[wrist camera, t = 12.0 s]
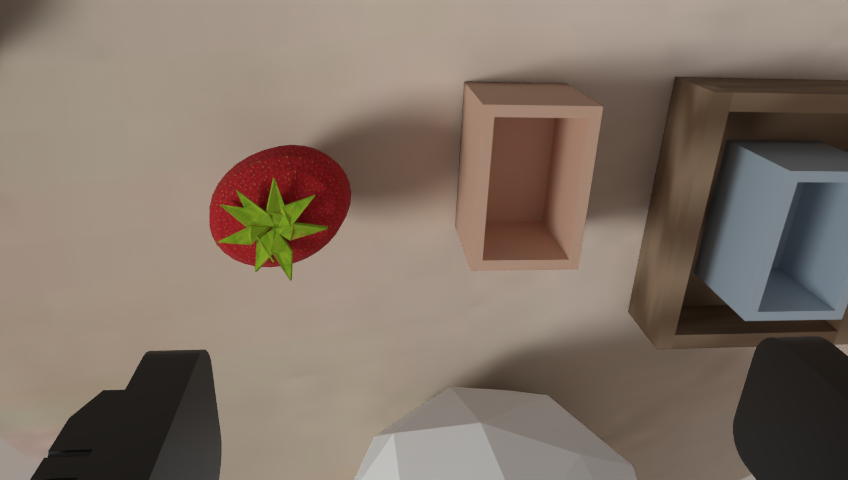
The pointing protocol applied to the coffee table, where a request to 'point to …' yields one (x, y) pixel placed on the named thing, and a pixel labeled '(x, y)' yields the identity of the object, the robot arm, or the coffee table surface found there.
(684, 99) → the walnut crate
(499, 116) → the terracotta crate
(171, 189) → the coffee table surface
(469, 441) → the geometric orb
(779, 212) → the blue-grey hollow box
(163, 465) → the robot arm
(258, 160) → the strawberry
